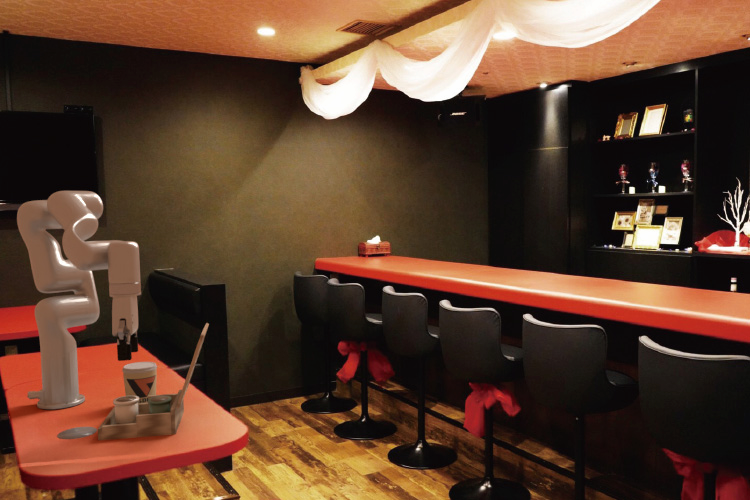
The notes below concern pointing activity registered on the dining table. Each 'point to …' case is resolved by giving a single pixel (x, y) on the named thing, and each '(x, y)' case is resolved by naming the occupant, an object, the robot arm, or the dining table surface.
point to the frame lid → (192, 365)
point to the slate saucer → (77, 433)
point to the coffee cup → (140, 380)
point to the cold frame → (144, 422)
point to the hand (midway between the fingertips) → (128, 356)
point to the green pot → (159, 404)
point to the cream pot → (126, 409)
